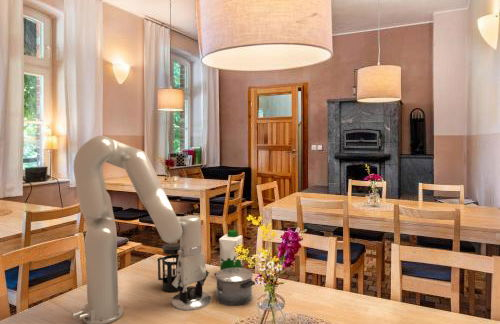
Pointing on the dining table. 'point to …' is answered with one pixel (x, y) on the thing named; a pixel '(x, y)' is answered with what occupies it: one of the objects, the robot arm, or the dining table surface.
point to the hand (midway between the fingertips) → (191, 298)
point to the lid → (191, 300)
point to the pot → (234, 286)
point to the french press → (169, 267)
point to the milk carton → (229, 250)
